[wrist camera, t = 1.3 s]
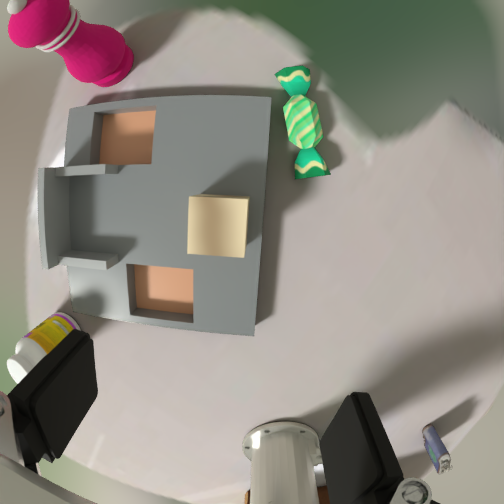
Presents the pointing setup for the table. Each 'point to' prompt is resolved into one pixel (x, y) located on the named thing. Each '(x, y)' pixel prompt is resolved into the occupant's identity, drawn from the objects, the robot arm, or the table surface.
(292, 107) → the candy
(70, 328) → the supplement bottle
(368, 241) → the table surface
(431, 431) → the flask
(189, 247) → the block
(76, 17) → the pepper mill
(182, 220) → the plate
